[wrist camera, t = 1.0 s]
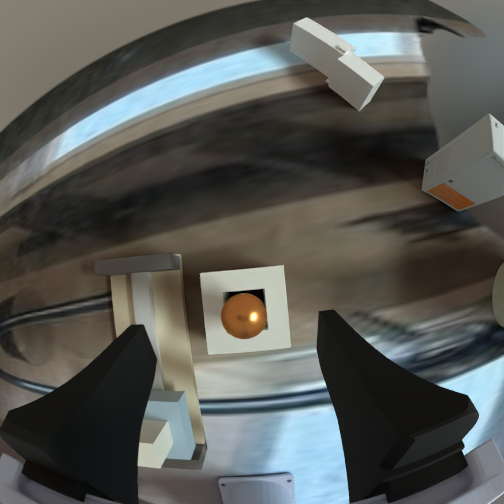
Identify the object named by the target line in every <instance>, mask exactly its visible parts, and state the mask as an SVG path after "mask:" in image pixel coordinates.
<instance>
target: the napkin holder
mask: <svg viewBox="0 0 504 504" xmlns="http://www.w3.org/2000/svg"><path fill="white" fill-rule="evenodd" d="M354 51H355V47H354V46H352V45H351V44H349V43H348V42H346V41H345V40H343V39H342V38H340V37H339V36H337V35H336V34H334V33H332V32H331V31H329V30H328V29H326V28H324V27H323V26H321V25H319V24H318V23H316V22H314V21H312V20H311V19H309V18H304V19H302V20H300V21H298V22H296V23H294V24H293V31H292V38H291V44H290V52H292V53H293V54H295V55H297V56H298V57H300V58H301V59H303V60H304V61H306V62H307V63H308V64H310V65H311V66H313V67H314V68H316V69H317V70H318V71H320V72H321V73H323V74H324V75H325V76H327V77H328V79H327V80H325V81H326V82H327V83H328V86H329V87H330V88H331V89H332V90H334V91H335V92H336V93H337V94H339V95H340V96H341V97H342V98H344V99H345V100H346V101H347V102H349V103H350V104H351V105H352V106H353V107H354V108H356V109H357V110H358V111H359V110H361V109H362V108H363V107H364V106H365V105H366V104H368V103H369V102H370V100H371V99H372V97H373V95H374V94H375V92H376V91H377V89H378V87H379V86H380V84H381V82H382V81H383V79H384V77H383V76H382V75H381V74H379V73H378V72H377V71H376V70H374V69H373V68H372V67H371V66H369V65H368V64H367V63H365V62H364V61H363V60H361V59H360V58H359V57H357V56H356V55H354V54H353V53H354Z"/></svg>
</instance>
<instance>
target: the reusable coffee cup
mask: <svg viewBox="0 0 504 504" xmlns="http://www.w3.org/2000/svg"><path fill="white" fill-rule="evenodd" d="M492 306H493V312H494V315H495V318H496V320H497V322H498V323H499V325H501V326H502V327H504V263H503V264H502V265H501V266H500V267H499V269H498V271H497V274H496V276H495V280H494V284H493V291H492Z"/></svg>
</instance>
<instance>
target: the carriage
mask: <svg viewBox="0 0 504 504" xmlns="http://www.w3.org/2000/svg"><path fill="white" fill-rule="evenodd" d="M195 446H196V445H195V440H194V436H193V431H192V426H191V421H190V416H189V411H188V405H187V400H186V394H185V391H153V390H151V393H150V396H149V400H148V404H147V407H146V411H145V414H144V418H143V422H142V427H141V434H140V442H139V453H138V466H143V467H151V468H159V469H160V468H161V466H162V464H163V463H164V461H165V459H166V458H169V459H184V460H191V458H192V455H193V452H194V449H195Z"/></svg>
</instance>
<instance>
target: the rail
mask: <svg viewBox="0 0 504 504" xmlns="http://www.w3.org/2000/svg"><path fill="white" fill-rule="evenodd" d="M94 273H95V275H107V276H111V290H112V301H113V311H114V320H115V328H116V336H117V337H118V336H119V335H120V334H121V333H122V332H123V331H125V330H126V329H127V328H128V327H129V326H130V325H131V324H144V326H145V329H146V331H147V334H148V337H149V339H150V342H151V344H152V347H153V349H154V352H155V354H156V357H157V365H156V372H155V378H154V382H153V386H152V389H151V390H153V391H185V394H186V400H187V405H188V411H189V416H190V421H191V426H192V431H193V436H194V440H195V445H196V446H195V449H194V452H193V455H192V458H191V460H184V459H169V458H166V459H165V461H164V463H163V464H162V466H161V467H167V468H180V469H200V470H201V469H202V465H203V462H204V458H205V455H206V454H207V450H208V449H207V444H206V439H205V434H204V429H203V423H202V418H201V412H200V407H199V401H198V395H197V388H196V382H195V375H194V369H193V361H192V354H191V346H190V338H189V330H188V321H187V312H186V302H185V292H184V281H183V268H182V255H180V254H171V253H163V254H153V255H143V256H133V257H124V258H114V259H104V260H95V261H94Z"/></svg>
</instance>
